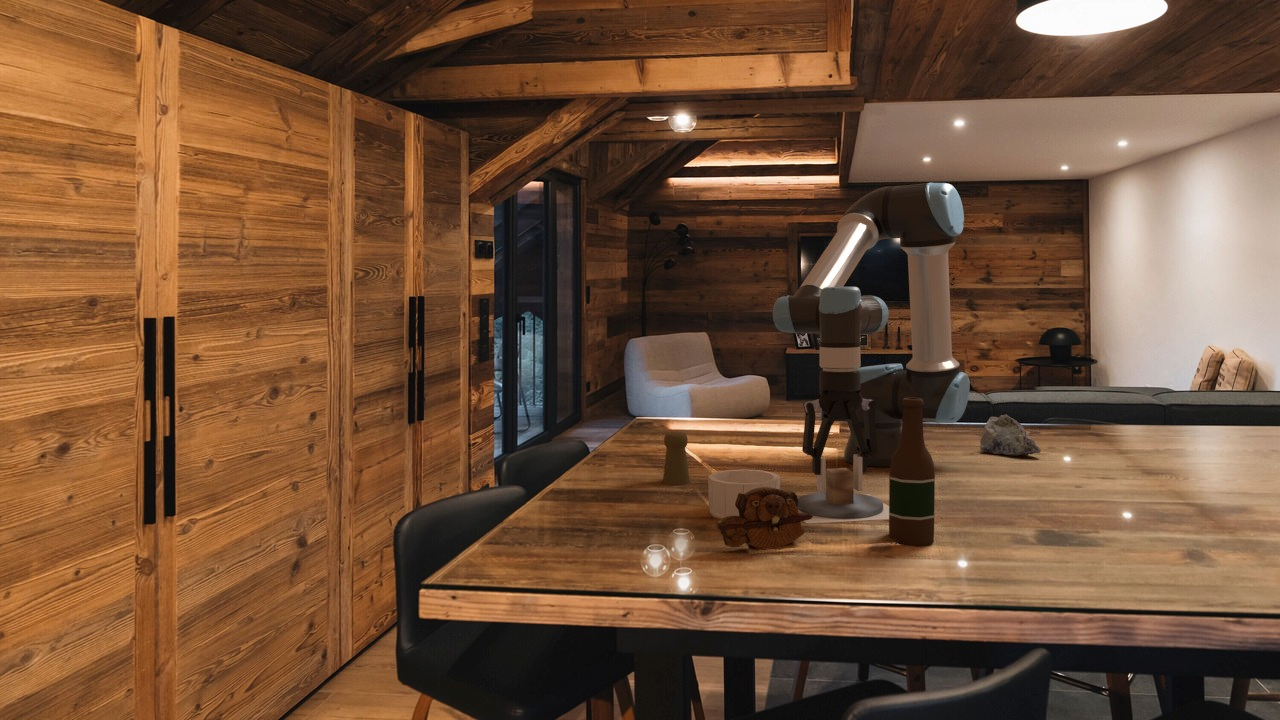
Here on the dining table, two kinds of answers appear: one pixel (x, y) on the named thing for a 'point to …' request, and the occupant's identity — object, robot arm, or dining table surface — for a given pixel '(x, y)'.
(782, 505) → the wooden carving
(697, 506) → the dining table surface
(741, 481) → the bowl
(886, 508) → the mat
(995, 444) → the mineral rock
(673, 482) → the cork
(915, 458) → the beer bottle
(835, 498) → the lid
